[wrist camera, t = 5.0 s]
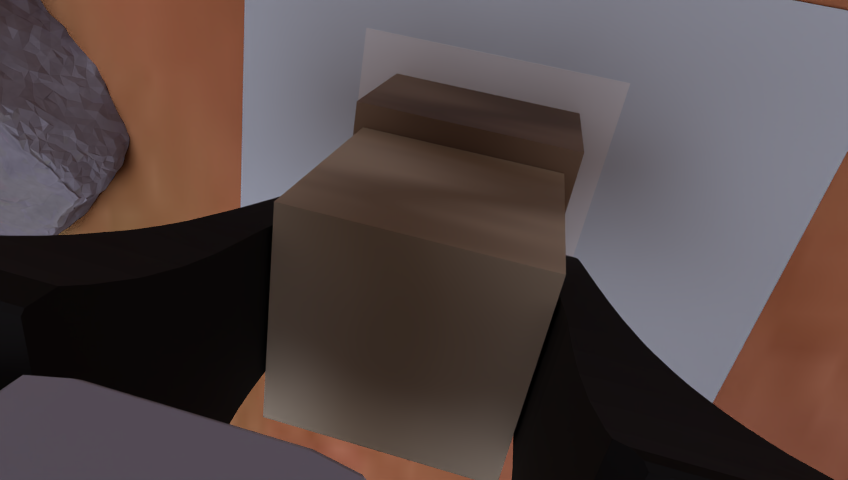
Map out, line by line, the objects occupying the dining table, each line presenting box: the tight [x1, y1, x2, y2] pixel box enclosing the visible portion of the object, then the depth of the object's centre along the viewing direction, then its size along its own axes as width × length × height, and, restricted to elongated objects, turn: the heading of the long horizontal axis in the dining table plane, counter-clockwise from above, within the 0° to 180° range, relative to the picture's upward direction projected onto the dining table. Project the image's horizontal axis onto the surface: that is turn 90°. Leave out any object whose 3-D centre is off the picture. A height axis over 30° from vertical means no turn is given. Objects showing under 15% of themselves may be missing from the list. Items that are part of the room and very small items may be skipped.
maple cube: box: [263, 127, 566, 480], centre depth 12 cm, size 4×4×4 cm
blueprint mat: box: [241, 0, 848, 403], centre depth 17 cm, size 16×14×1 cm
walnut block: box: [353, 74, 584, 213], centre depth 15 cm, size 5×5×4 cm
